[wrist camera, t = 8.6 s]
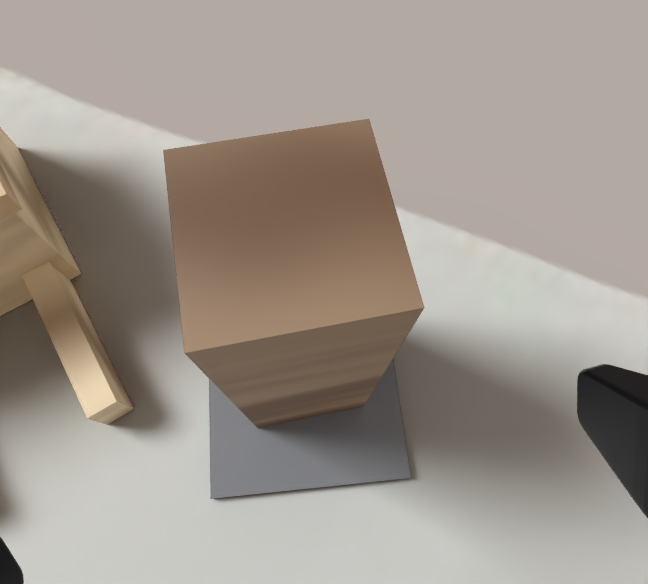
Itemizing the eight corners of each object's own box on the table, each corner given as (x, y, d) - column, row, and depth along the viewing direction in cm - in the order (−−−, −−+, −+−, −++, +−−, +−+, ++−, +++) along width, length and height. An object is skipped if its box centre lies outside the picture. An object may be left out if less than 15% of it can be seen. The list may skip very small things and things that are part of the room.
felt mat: (409, 477, 20) (410, 477, 20) (212, 498, 20) (210, 498, 20) (376, 256, 24) (377, 254, 24) (208, 270, 23) (207, 267, 23)
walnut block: (363, 406, 21) (424, 307, 9) (257, 428, 21) (184, 352, 9) (340, 308, 23) (369, 118, 11) (242, 326, 22) (163, 150, 11)
